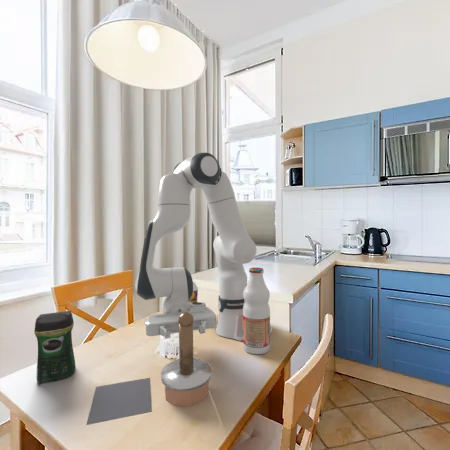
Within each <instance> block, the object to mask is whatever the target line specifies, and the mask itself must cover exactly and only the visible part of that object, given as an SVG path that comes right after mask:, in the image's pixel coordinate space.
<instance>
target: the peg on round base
mask: <svg viewBox="0 0 450 450" xmlns="http://www.w3.org/2000/svg"><path fill="white" fill-rule="evenodd" d="M193 322H194V318H193V316H192V314H191V313H189V312H184V313H182V314H181V315H180V316H179V318H178V323H179V333H178V348H179V349H178V350H179V352H178V353H179V354H178V355H179V356H178V359H176V360H175V359H174V360H173V361H170V362H169V363H167V364H166V365H165V366H164V367H163V368H162V369H161V372H160V380H161V383H162V384H163V386H164V387H165V386H166V387H168V388H170V389H173V390H179V391H186V390H192V389H196V388H199V387H201V386H203V385H204V384H206V383H207V382H208V381H210V380H211V378H212V366H211V365H210V364H209V363H208V362H207V361H205V360H203V359H200V358H196V357H195V358H194V331H193Z"/></svg>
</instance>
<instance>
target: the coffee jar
mask: <svg viewBox="0 0 450 450" xmlns="http://www.w3.org/2000/svg"><path fill="white" fill-rule="evenodd" d="M73 328H74V317H73V313H72V311H71V310H65V311H60V312H59V311H58V312H49V313H40V315H38V316H37V317H36V319H35V324H34V330H33V331H34V335H35V338H36V340H37V341H36V342H37V358H36V361H37V363H36V382H37V383H39V384H45V383H53V382H58V381H62V380H65V379H68V378H70V377H71V376H73V375H74V373H75V371H76V358H75V353H74V347H73V340H72V339H73V338H72V337H73V336H72V331H73Z"/></svg>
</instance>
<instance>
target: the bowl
mask: <svg viewBox="0 0 450 450" xmlns="http://www.w3.org/2000/svg"><path fill="white" fill-rule="evenodd" d="M209 381H210V380H209ZM209 381H208V382H207V383H206V384H204V385H203V386H201V387H199V388H196V389H192V390H186V391H179V390H173V389H170V388H168V387H166V386H165V385H164V396H165V400H166V401H167V402H168V403H170V404H173V405H174V406H175V407H191V406H193V405H196V404H199V403H200V402H203V401H204V400H205V398H206V397H207V395H208V393H209V387H210V386H209V385H210V383H209Z"/></svg>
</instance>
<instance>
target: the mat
mask: <svg viewBox="0 0 450 450" xmlns="http://www.w3.org/2000/svg"><path fill="white" fill-rule="evenodd" d="M94 389H95V390H94V395H93V398H92V402H91V405H90V409H89V413H88V417H87V421H86V426H87V425H92V424H96V423H97V424H98V423H101V422H107V421H112V420H117V419H122V418H128V417H132V416H136V415H142V414H146V413H147V414H148V413H151V412H153V409H152V391H151V389H152V388H151V377H145V378H141V379H134V380H129V381H122V382H117V383H111V384H103V385H99V386H95V388H94Z"/></svg>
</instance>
